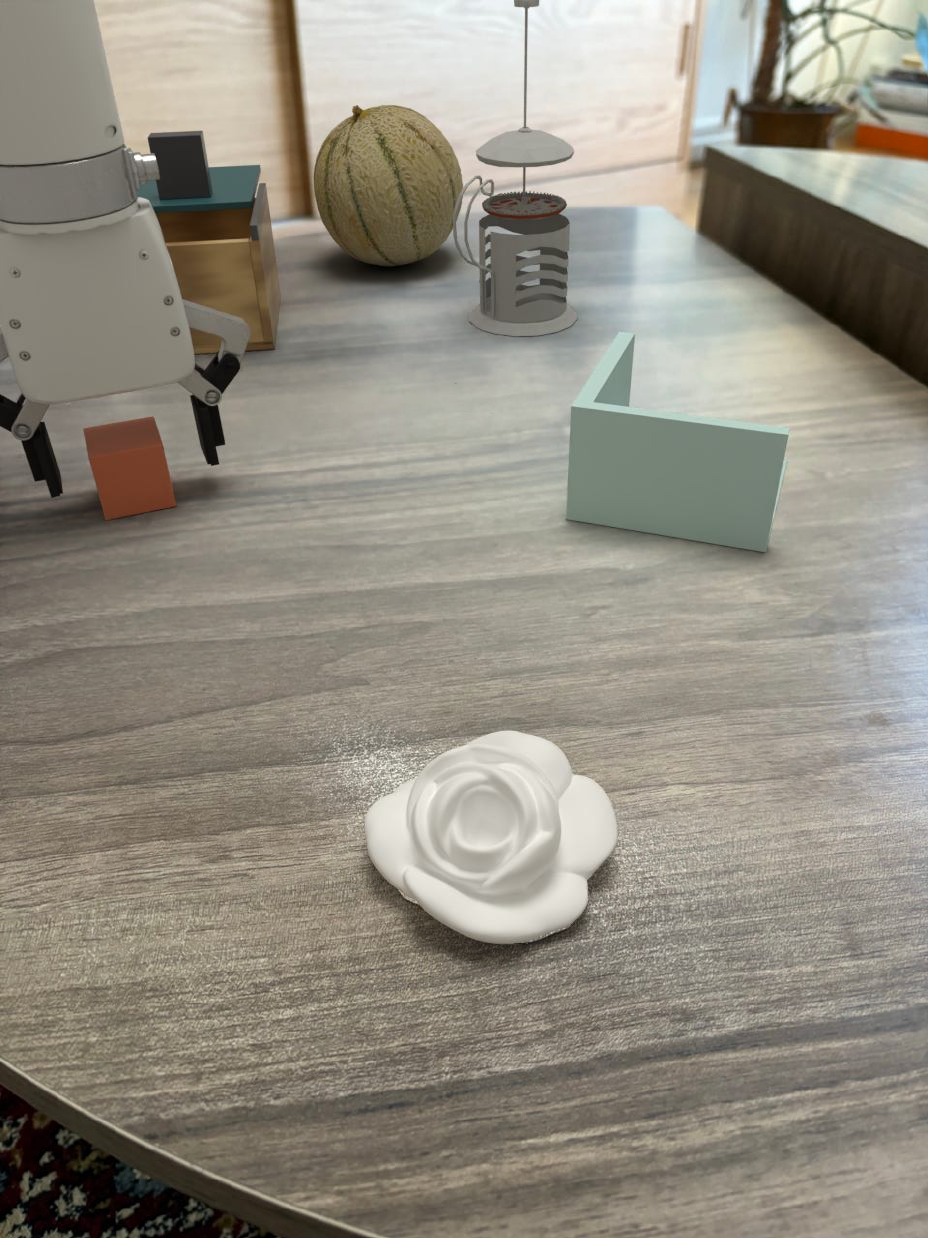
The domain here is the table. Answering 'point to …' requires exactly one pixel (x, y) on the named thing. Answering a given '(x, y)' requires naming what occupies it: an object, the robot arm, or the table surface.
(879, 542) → the table surface
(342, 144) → the cantaloupe
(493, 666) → the table surface
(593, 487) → the l-shaped corner panel
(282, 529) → the table surface
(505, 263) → the french press
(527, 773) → the rose
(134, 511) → the block
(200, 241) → the wooden box
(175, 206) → the sliding door
